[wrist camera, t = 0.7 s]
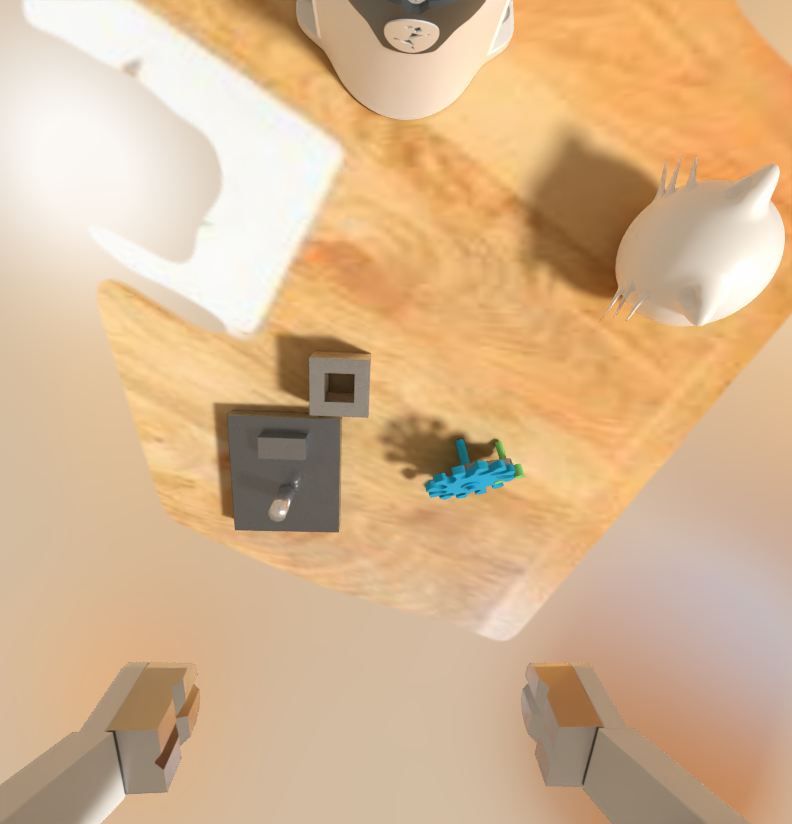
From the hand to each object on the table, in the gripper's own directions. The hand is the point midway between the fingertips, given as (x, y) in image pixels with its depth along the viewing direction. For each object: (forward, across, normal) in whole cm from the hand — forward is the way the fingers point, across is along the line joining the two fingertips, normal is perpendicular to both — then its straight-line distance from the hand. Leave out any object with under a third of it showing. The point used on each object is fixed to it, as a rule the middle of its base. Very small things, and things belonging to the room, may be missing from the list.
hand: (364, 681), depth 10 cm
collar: (+37, +3, +1) cm, 37 cm away
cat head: (+37, -29, -13) cm, 49 cm away
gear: (+37, -12, +11) cm, 40 cm away
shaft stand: (+37, +9, +12) cm, 40 cm away
